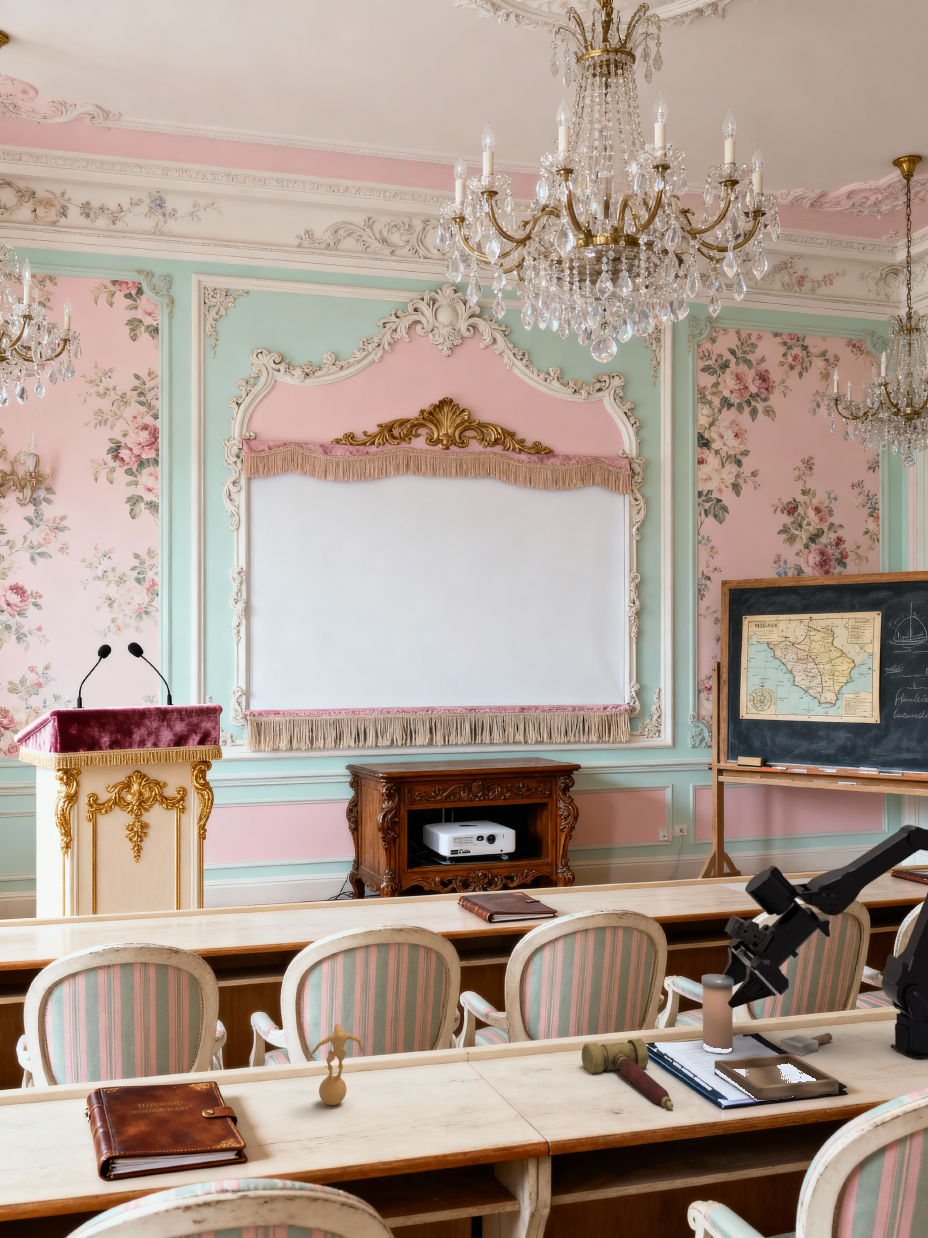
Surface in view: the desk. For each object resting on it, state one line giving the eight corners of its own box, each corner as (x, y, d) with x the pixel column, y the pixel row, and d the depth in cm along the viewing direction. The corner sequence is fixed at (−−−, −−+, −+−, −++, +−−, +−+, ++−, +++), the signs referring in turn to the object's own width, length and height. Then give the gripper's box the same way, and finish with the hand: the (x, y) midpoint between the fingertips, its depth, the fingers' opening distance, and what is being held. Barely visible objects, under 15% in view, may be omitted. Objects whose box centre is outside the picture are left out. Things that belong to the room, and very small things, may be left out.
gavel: (702, 1087, 154) (641, 1094, 151) (701, 1119, 154) (640, 1126, 151) (636, 1034, 174) (581, 1039, 171) (635, 1062, 174) (580, 1067, 171)
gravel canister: (723, 1043, 183) (723, 973, 184) (740, 1053, 178) (739, 981, 179) (695, 1045, 182) (695, 975, 183) (711, 1056, 176) (711, 983, 177)
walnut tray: (790, 1066, 172) (790, 1053, 172) (838, 1094, 160) (838, 1080, 160) (714, 1073, 168) (714, 1061, 168) (758, 1102, 156) (758, 1088, 156)
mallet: (819, 1038, 187) (819, 1029, 187) (838, 1044, 184) (838, 1035, 184) (780, 1049, 180) (780, 1040, 180) (800, 1056, 177) (800, 1046, 177)
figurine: (355, 1096, 156) (357, 1013, 157) (368, 1110, 151) (369, 1025, 152) (301, 1103, 153) (303, 1019, 154) (311, 1118, 147) (313, 1031, 148)
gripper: (740, 891, 191) (679, 951, 190) (769, 911, 173) (702, 978, 172) (783, 936, 190) (722, 996, 190) (817, 961, 172) (750, 1028, 171)
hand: (722, 998), depth 181 cm, fingers open, 9 cm apart
